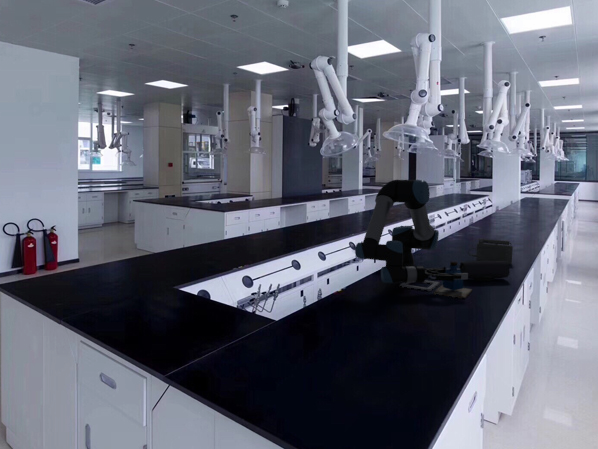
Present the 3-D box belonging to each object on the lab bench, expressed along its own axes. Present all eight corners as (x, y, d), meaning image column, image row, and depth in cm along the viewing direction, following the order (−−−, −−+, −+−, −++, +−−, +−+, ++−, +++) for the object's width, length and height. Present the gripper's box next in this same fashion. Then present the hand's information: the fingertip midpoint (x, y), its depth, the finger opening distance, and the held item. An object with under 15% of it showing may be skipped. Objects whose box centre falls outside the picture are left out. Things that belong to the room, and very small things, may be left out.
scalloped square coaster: (399, 286, 215) (399, 284, 215) (410, 280, 227) (410, 278, 227) (430, 291, 206) (430, 289, 206) (439, 284, 219) (439, 282, 219)
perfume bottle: (453, 290, 200) (454, 264, 198) (443, 287, 205) (443, 261, 203) (462, 288, 202) (464, 263, 201) (452, 285, 208) (453, 260, 206)
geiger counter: (513, 240, 262) (469, 236, 275) (512, 241, 256) (467, 238, 270) (512, 263, 264) (468, 258, 277) (510, 265, 258) (466, 260, 272)
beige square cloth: (433, 294, 202) (433, 292, 202) (442, 287, 214) (442, 285, 214) (464, 298, 194) (464, 296, 194) (472, 291, 206) (472, 289, 206)
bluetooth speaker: (500, 277, 231) (501, 258, 230) (509, 281, 222) (510, 262, 221) (458, 278, 231) (458, 259, 229) (465, 282, 222) (466, 263, 220)
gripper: (408, 276, 214) (454, 276, 214) (421, 288, 193) (472, 288, 193) (409, 261, 213) (455, 260, 213) (421, 272, 192) (473, 271, 192)
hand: (463, 273), depth 203 cm, fingers closed on perfume bottle, 8 cm apart
